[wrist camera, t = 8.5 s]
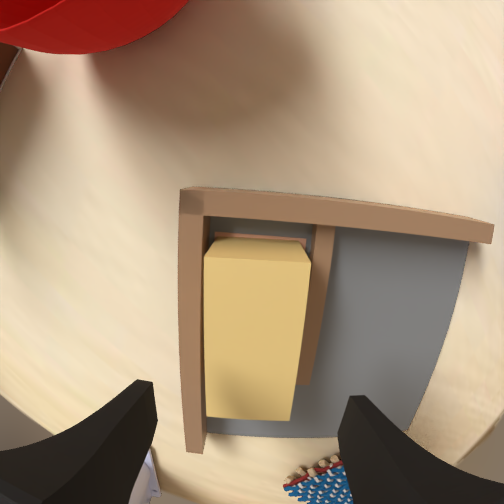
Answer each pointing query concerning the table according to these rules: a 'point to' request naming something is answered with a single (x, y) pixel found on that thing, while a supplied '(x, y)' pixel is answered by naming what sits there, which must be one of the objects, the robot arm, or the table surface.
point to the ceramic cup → (81, 23)
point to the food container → (7, 60)
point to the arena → (331, 302)
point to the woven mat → (321, 484)
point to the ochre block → (253, 326)
